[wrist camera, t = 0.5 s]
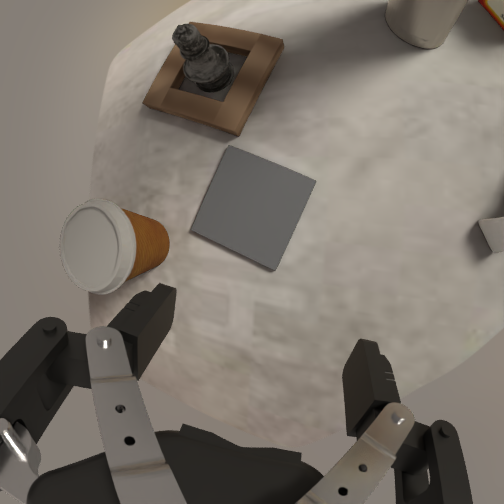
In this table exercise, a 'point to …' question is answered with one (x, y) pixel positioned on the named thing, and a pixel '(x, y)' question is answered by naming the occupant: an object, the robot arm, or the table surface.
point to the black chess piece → (203, 59)
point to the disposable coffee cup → (109, 245)
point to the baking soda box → (495, 10)
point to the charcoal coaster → (253, 206)
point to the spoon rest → (493, 233)
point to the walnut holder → (241, 92)
